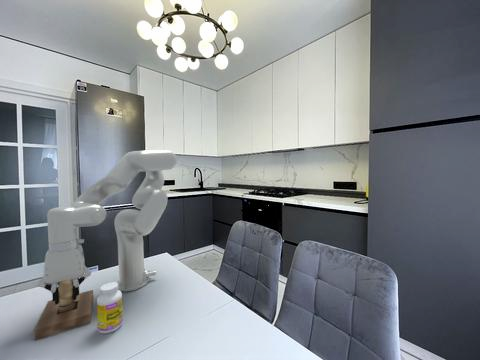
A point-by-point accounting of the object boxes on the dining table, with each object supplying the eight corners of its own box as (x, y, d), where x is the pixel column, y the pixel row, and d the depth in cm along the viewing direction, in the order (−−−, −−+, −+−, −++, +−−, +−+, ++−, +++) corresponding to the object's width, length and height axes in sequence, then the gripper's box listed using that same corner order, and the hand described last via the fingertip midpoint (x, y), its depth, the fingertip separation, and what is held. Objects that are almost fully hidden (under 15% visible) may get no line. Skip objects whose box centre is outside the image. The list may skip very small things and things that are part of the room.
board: (93, 297, 82) (93, 289, 82) (90, 323, 68) (90, 314, 68) (48, 309, 75) (47, 301, 75) (35, 340, 61) (34, 330, 61)
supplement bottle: (105, 338, 62) (102, 294, 61) (93, 329, 66) (91, 288, 65) (127, 323, 68) (125, 283, 67) (116, 316, 71) (114, 278, 71)
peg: (75, 306, 74) (74, 272, 73) (74, 313, 70) (72, 277, 70) (60, 310, 72) (58, 275, 71) (57, 318, 68) (56, 281, 68)
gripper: (95, 237, 78) (97, 287, 79) (32, 246, 69) (35, 302, 70) (94, 243, 71) (96, 297, 72) (25, 254, 63) (28, 315, 63)
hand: (66, 299), depth 71 cm, fingers closed on peg, 4 cm apart
